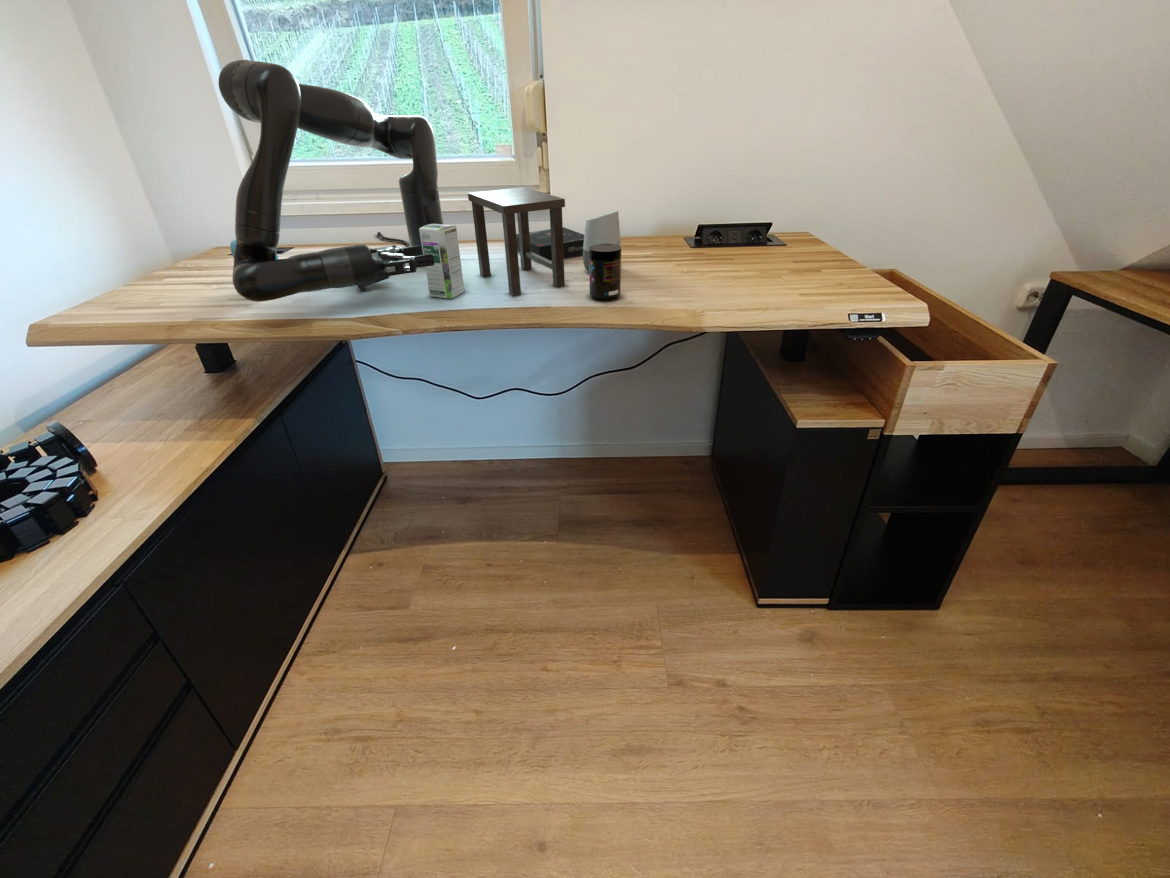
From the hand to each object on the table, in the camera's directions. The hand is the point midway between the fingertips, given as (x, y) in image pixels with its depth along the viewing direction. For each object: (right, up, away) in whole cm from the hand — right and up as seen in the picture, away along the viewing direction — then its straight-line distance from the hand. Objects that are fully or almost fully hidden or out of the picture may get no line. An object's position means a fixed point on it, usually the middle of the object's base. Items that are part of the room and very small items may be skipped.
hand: (427, 255), depth 117 cm
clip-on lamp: (-21, -3, +13) cm, 25 cm away
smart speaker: (+37, +2, +20) cm, 42 cm away
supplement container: (+38, -8, +3) cm, 39 cm away
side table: (+18, -1, +14) cm, 23 cm away
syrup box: (+3, -7, +6) cm, 10 cm away
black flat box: (+24, +13, +37) cm, 46 cm away
